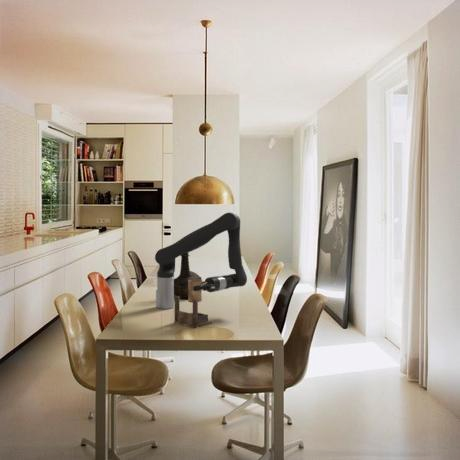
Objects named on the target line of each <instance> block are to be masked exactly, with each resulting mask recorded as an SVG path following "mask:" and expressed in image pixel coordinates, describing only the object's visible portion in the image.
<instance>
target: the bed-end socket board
mask: <svg viewBox="0 0 460 460" xmlns="http://www.w3.org/2000/svg"><path fill="white" fill-rule="evenodd" d="M198 303H199V302H198V300H193V303H192V312H187V311H182V310H180V298H179V296H175V295H174V321H173V323H174V324H177V325H181V326H185V327H188V328H192V329H198V328H199V327H203V326H208V325H212V323H213V322H212V321H210V320H209V314H206V313H201V312H198V311H199V304H198Z"/></svg>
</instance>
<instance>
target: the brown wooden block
mask: <svg viewBox="0 0 460 460" xmlns="http://www.w3.org/2000/svg"><path fill="white" fill-rule="evenodd" d="M201 279H202V276H200V277H196V276H195V277H189V278H188V298H187V299H188V300H187V302H188V303H192V304H193V300H198V303H201V302H202V300H203V299H202V291H201V290H198V291H193V287H194V286H200V285H201Z"/></svg>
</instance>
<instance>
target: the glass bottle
mask: <svg viewBox="0 0 460 460" xmlns="http://www.w3.org/2000/svg"><path fill="white" fill-rule="evenodd" d="M179 257H180V259H181V260H180V269H179V270H180V272H179V275H178V276H179V277H178V276H177V277H176V278H175V277H174V297H175V296H179V299H188V290H187V285H188V278H189V277H192V276H191V274H190V271H191V270H190V262H189V257H190V255H189V252H188V253H185V254H182V255H180V256H179Z"/></svg>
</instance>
